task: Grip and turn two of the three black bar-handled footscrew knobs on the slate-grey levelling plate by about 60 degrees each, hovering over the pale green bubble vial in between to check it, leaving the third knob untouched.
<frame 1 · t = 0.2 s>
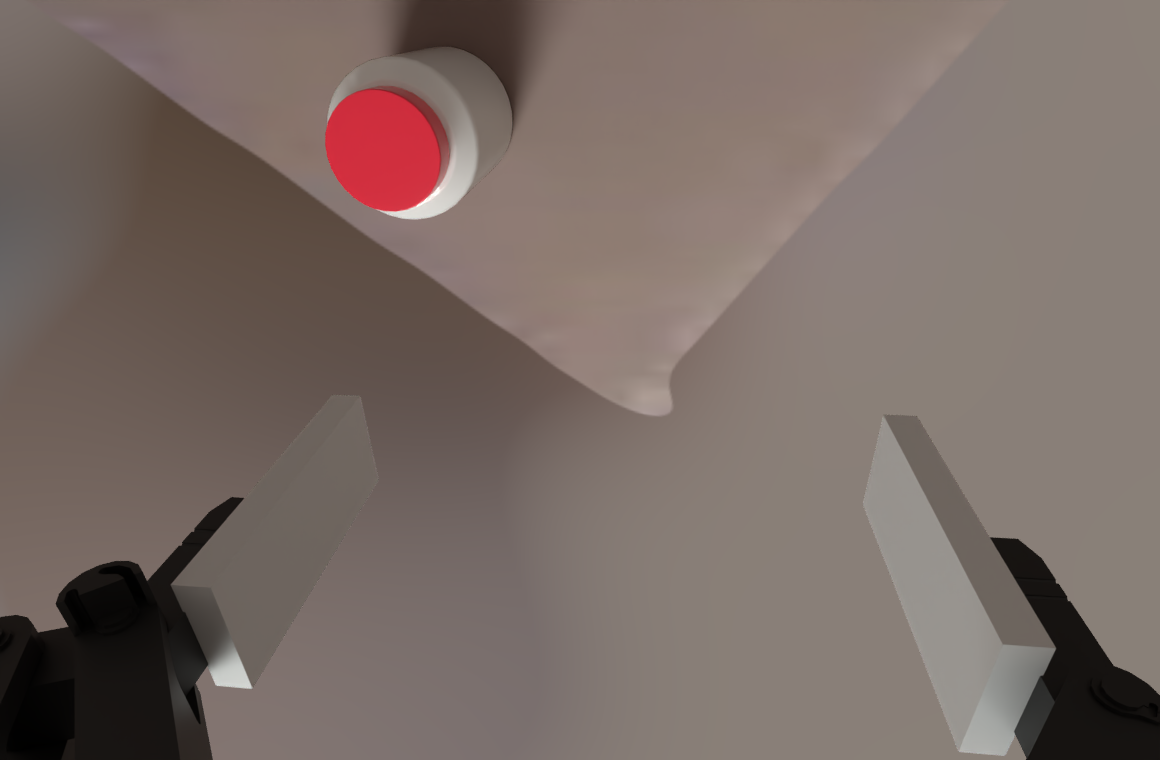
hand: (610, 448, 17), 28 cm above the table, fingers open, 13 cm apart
pill bottle: (450, 117, 41), on the table
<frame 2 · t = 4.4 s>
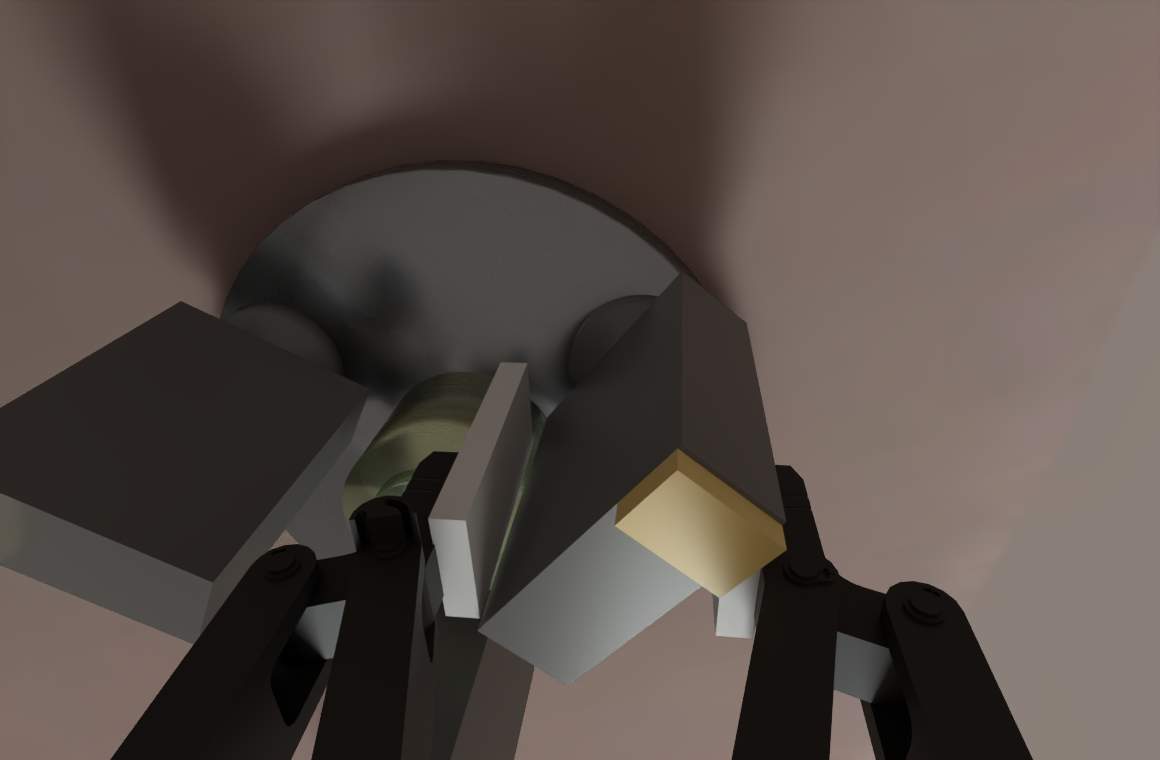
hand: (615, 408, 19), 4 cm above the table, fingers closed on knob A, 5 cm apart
knob A: (631, 452, 17), point 7 cm above the table, hinge at 18.3°, touching gripper
knob C: (465, 707, 23), point 7 cm above the table, hinge at 0.0°
knob B: (190, 445, 18), point 7 cm above the table, hinge at 0.0°
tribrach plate: (484, 423, 25), on the table
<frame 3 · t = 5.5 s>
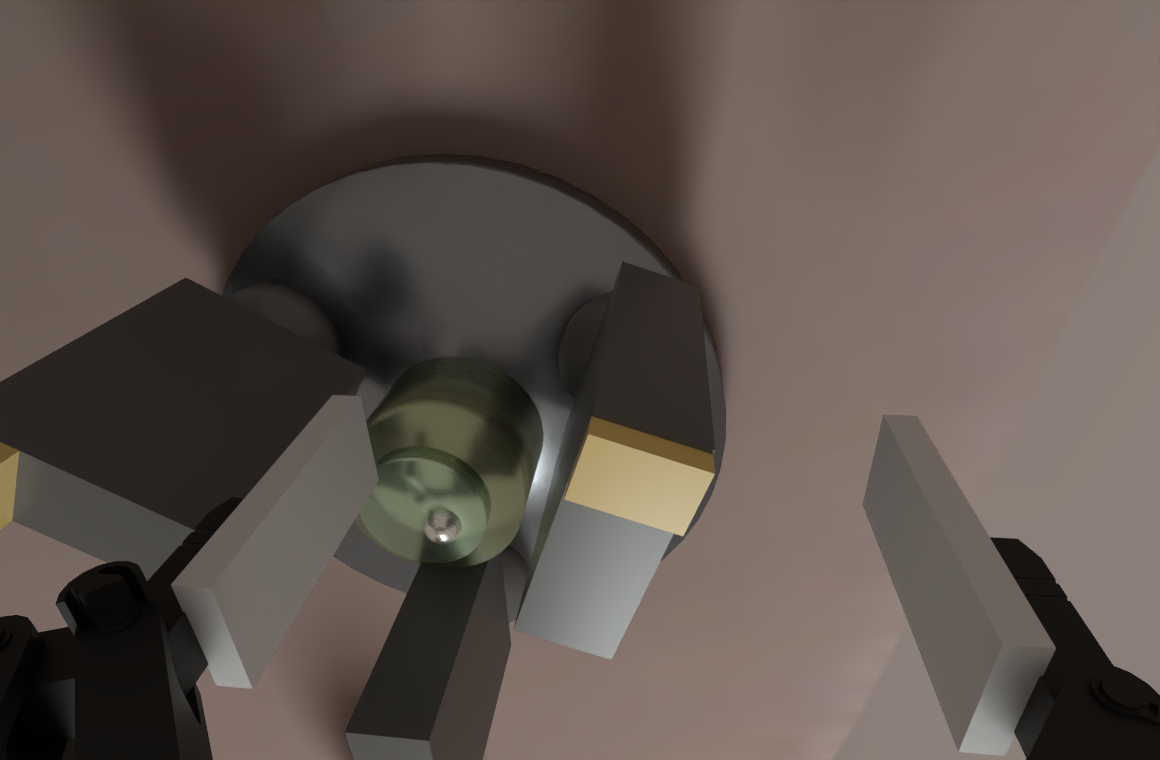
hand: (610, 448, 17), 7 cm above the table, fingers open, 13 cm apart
knob A: (617, 435, 18), point 7 cm above the table, hinge at 42.0°
knob C: (446, 676, 24), point 7 cm above the table, hinge at 0.0°
knob B: (194, 416, 19), point 7 cm above the table, hinge at 0.0°
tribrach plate: (473, 407, 26), on the table
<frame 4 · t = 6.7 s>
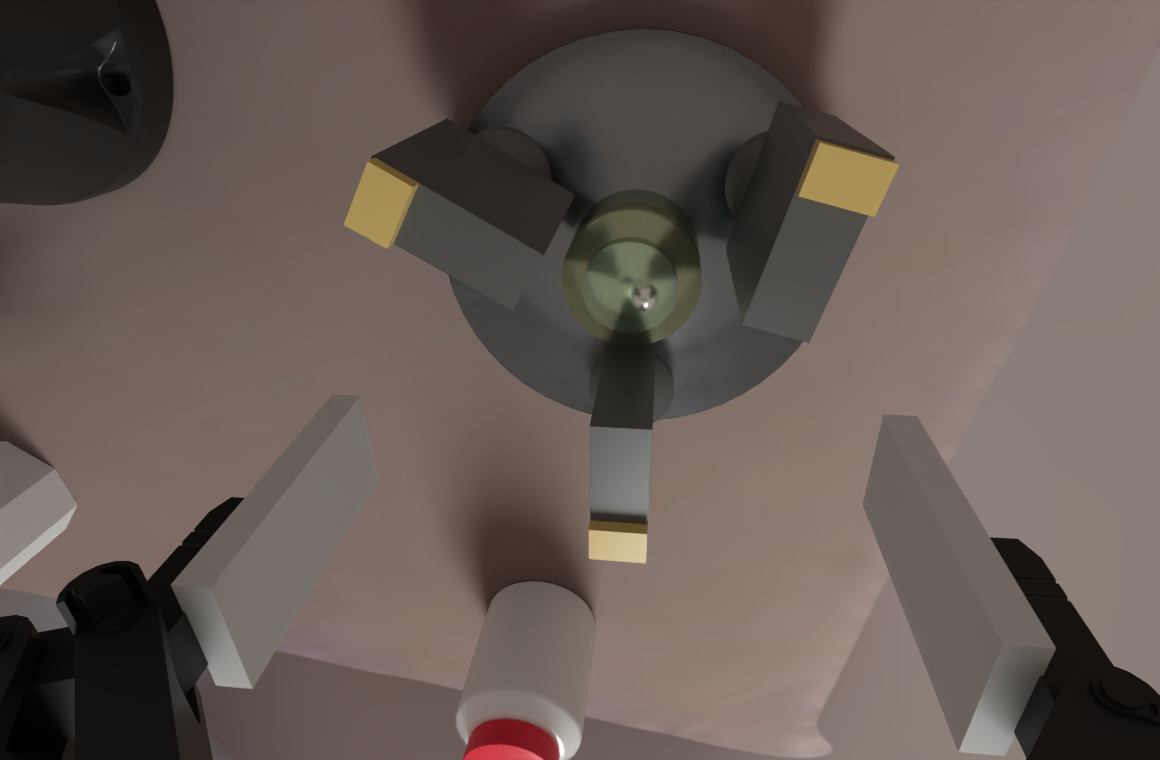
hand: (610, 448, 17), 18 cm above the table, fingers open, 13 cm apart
pill bottle: (541, 618, 48), on the table
knob A: (792, 211, 25), point 7 cm above the table, hinge at 45.9°
knob C: (625, 435, 31), point 7 cm above the table, hinge at 0.0°
knob B: (477, 204, 27), point 7 cm above the table, hinge at 0.0°
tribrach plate: (636, 243, 33), on the table
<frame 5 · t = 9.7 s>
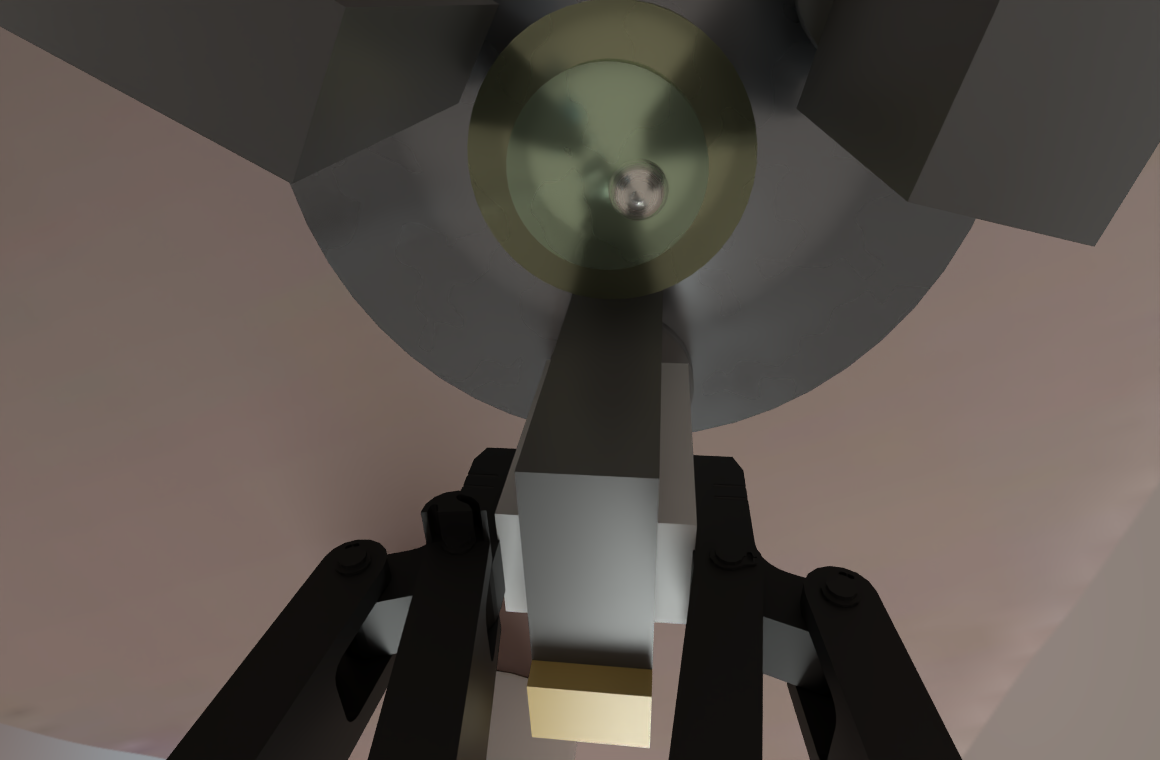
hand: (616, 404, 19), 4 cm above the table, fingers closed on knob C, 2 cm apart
pill bottle: (501, 717, 33), on the table
knob C: (607, 472, 16), point 7 cm above the table, hinge at 0.0°, touching gripper
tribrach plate: (624, 123, 19), on the table
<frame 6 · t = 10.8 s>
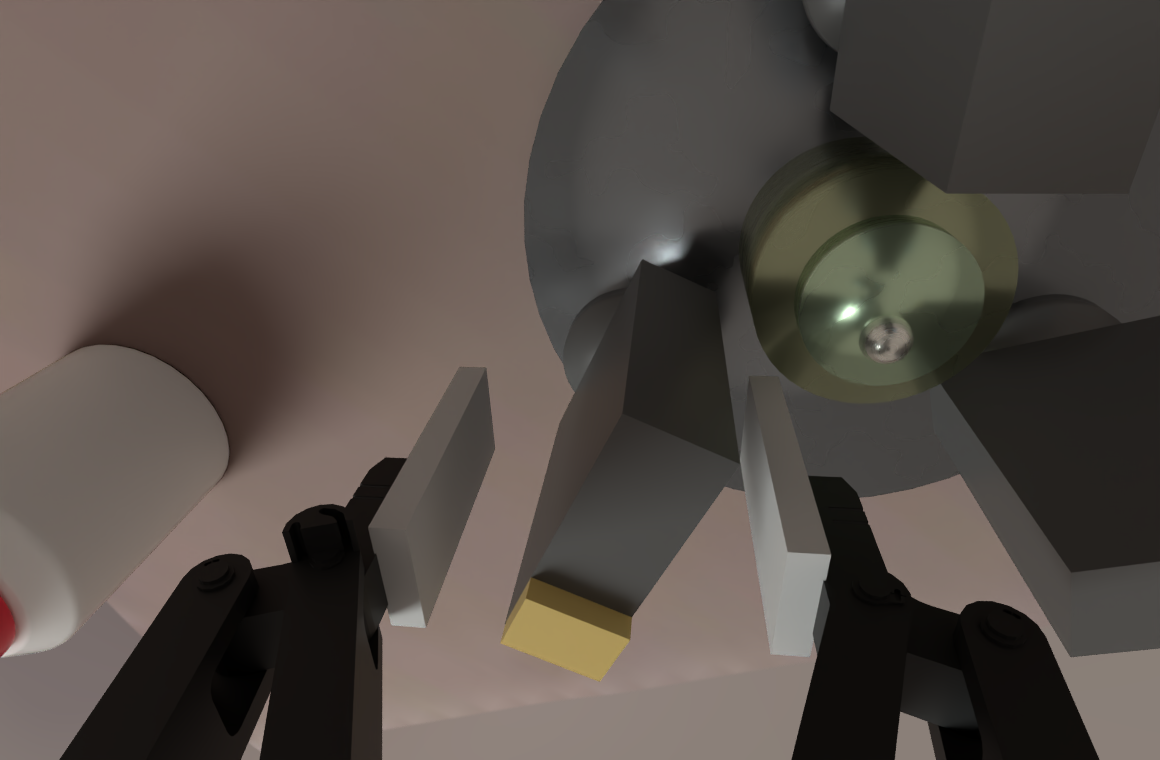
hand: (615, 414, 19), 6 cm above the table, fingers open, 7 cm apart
pill bottle: (145, 422, 29), on the table
knob A: (1130, 457, 16), point 7 cm above the table, hinge at 46.7°
knob C: (623, 435, 18), point 7 cm above the table, hinge at 35.3°
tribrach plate: (833, 229, 21), on the table
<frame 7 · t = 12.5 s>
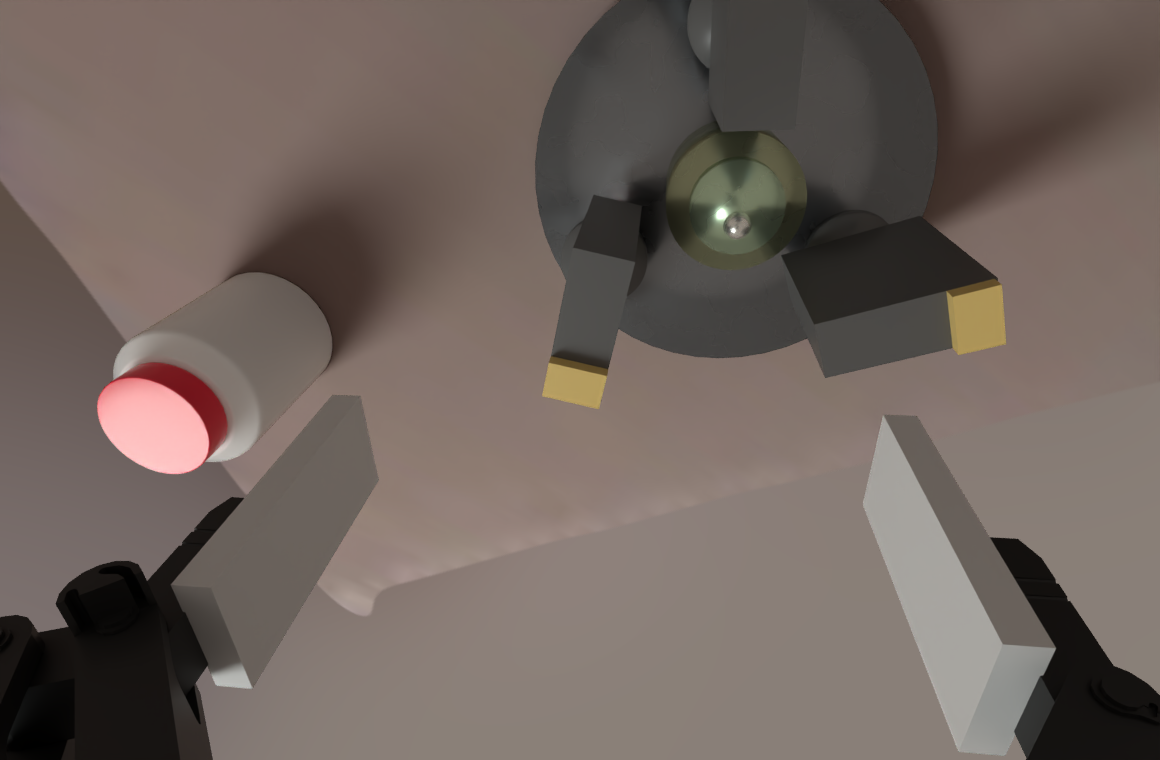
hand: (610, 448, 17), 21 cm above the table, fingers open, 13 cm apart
pill bottle: (273, 330, 41), on the table
knob A: (875, 289, 29), point 7 cm above the table, hinge at 46.7°
knob C: (596, 291, 30), point 7 cm above the table, hinge at 45.9°
knob B: (751, 21, 25), point 7 cm above the table, hinge at 0.0°
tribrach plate: (725, 177, 34), on the table
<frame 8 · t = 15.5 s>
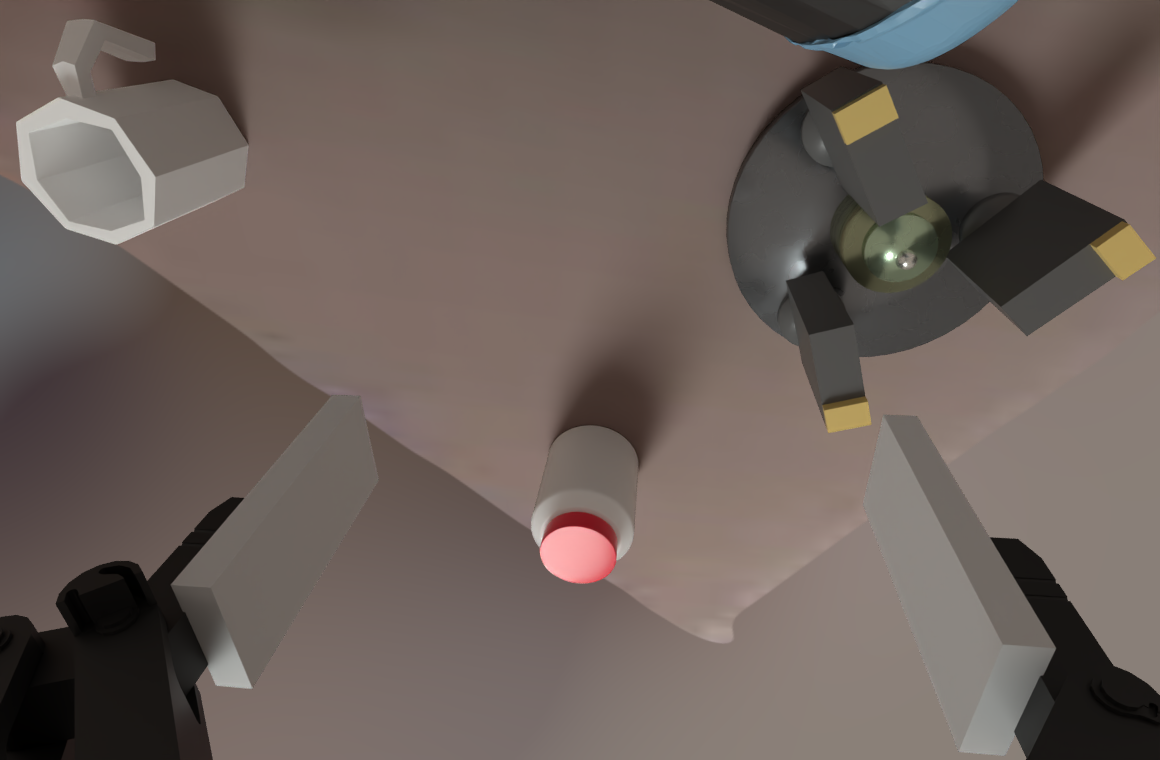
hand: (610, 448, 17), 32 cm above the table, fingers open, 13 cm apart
pill bottle: (593, 461, 57), on the table
mug: (183, 115, 46), on the table
knob A: (1033, 253, 38), point 7 cm above the table, hinge at 46.7°
knob C: (824, 345, 42), point 7 cm above the table, hinge at 46.9°
knob B: (858, 141, 36), point 7 cm above the table, hinge at 0.0°
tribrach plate: (872, 219, 44), on the table
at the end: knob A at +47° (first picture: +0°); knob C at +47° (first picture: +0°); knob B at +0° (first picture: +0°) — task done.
